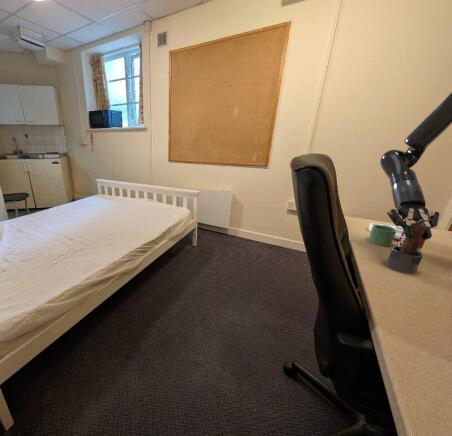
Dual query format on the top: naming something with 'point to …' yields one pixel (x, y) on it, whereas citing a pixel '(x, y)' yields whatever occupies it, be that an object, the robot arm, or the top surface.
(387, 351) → the top surface
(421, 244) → the soda can
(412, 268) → the charcoal cup
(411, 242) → the pestle
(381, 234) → the green cup
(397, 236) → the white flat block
